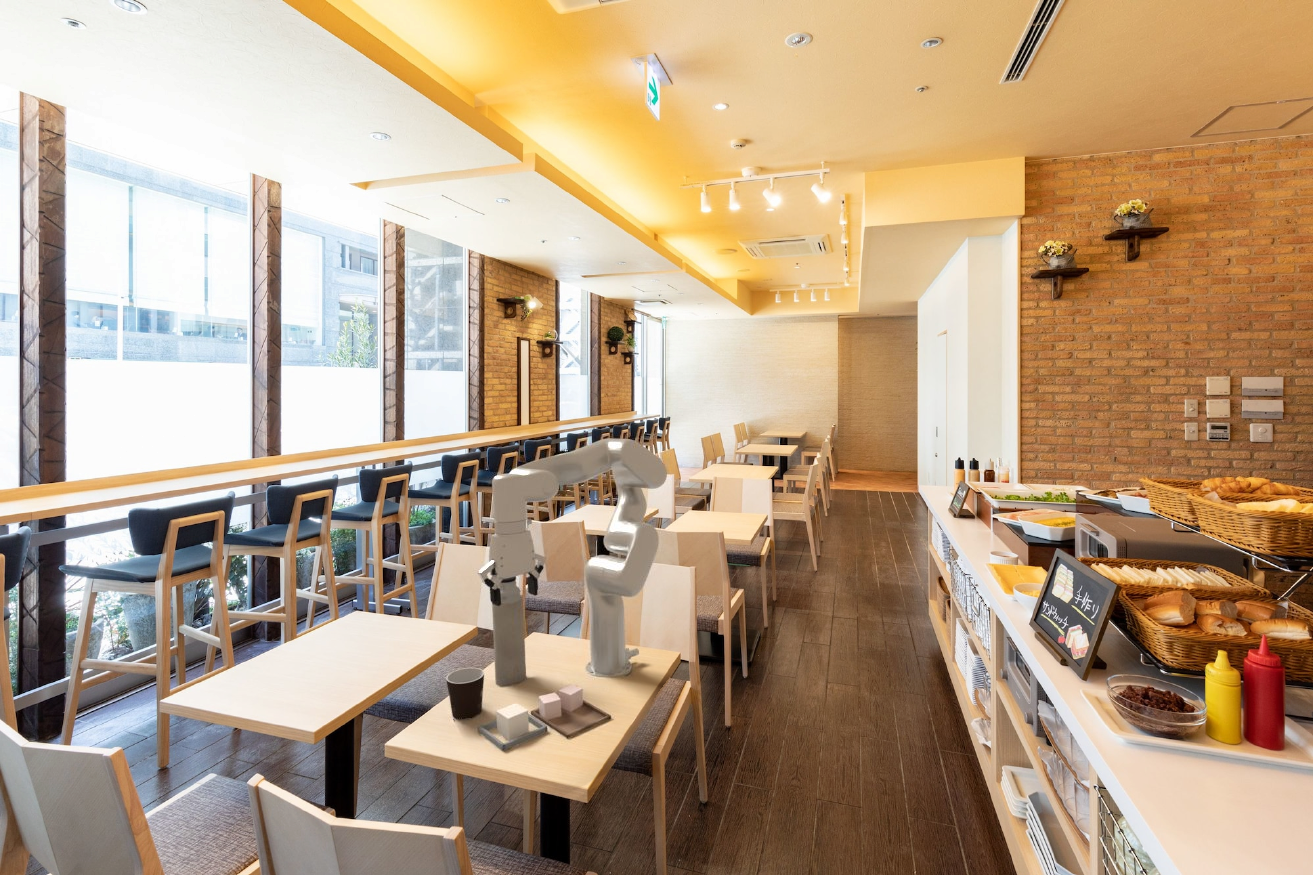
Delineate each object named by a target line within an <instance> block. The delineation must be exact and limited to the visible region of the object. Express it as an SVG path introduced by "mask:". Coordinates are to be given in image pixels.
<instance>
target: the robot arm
mask: <svg viewBox="0 0 1313 875" xmlns="http://www.w3.org/2000/svg"><path fill="white" fill-rule="evenodd" d="M610 471H612V477H613V481H614V483H615V485H616V490H617V503H616V506H615V509H614V511H613V513H612V516H611V519H610V520H609V524H608V525H607V527H606V531H605V533H604V537H603V545H604V548H606V550H607V551H609V552H611V553H614V554H618V555H622V556H626V558H622V557H618V556H612V555H607V554H606V555H605V554H599V555H595V556H592V557H591V558H590V559H589V560H588V561H587V562H586V564H585V567H584V570H583V577H584V584H585V588H586V592H587V597H588V614H589V615H588V617H589V618H588V619H589V642H590V643H589V644H590V646H589V648H590V650H589V651H590V662H588V663H587V664H586V665H585V672H586V673H587V674H589V675H590V676H594V677H598V678H612V677H618V676H627V675H628V674H629V673H630V672H631V671H632V667H633V666H632V663H631V662H630V660H631V658H633V657H636V656H638V655H639V654H640V650H639V648H637V647H635V648H632V649H630V648H629V647H626V628H625V626H626V625H625V622H626V621H625V620H626V619H625V604H624V600H623V598H624V597H625V598H633V597H636V596H637V595H638V594H640V592H642V590H643V588H644V586H645V584H646V583H647V582H646V581H647V579H648V576H649V574H650V571H651V568H652V566H653V564H654V561H655V558H656V556H657V552H658V549H659V543H660V542H659V540H660V539H659V537H660V536H659V533H658V530H657V529H656V528H655V527H654V525H652V524H650V523H648V522H643V521H644V519H645V515H646V512H647V506H648V504H647V499H646V496H645V493H644V491H643V489H650V490H652V489H658V488H660V487H662V486H663V485H664V484H665V483H666V480H667V477H668V476H667V475H668V472H667V471H668V469H667V467H666V464H665V462H664V461H663V459H661V458H660V457H658V456H657V455H656V454H654V453H653V452H652V451H650V450H649V449H648V448H646V447H645V446H644V445H643V444H641V443H639V442H638V441H636V440H633V439H629V438H610V437H609V438H608V437H607V438H604V439H603V438H602V439H600V440H597V441H594V442H593V443H590V444H587V445H585V446H582V447H580V448H577V449H574V450H571V451H569V452H564V453H560V454H556V455H552V456H547V457H543V458H540V459H536V460H532V461H530V462H527V463H525V464H522V465H519V466H517V467H515V468H513V469H512V470H511V471H510V472H509V473H501V474H498V475H495V476H494V477H493V478H492V481H491V486H492V487H491V488H492V503H493V505H492V506H493V522H494V533H493V534H491V537H490V543H489V552H488V553H489V554H488V563H487V564H486V565H485V566H483V567H482V568H481V569H480V570H478V572H477V574H478V576H479V578H480V580H481V582H482V583H483V584H485V585H486V586H487V587H488V588H489V597H490V602H491V605H492V604H494V605H496V606H500V605H501V593H500V589H499V588H498V586H499V585H500V583H501V581H502V580H503V579H506V578H511V577H515V576H516V577H519V576H521V575H526V574H527V575H528V576H527V593H528V594H530V595H533V596H535V597H536V596H538V591H539V583H538V582H539V581H538V580H539V578H540V575H541V573H542V571H543V570H544V566H545V564H546V561H547V557H546V556H544V555H540V554H538V553H536V552H535V546H534V541H533V537H532V536H533V535H532V533H531V530H529V526H530V525H532V523H533V520H532V519H531V518H528V503H536V502H537V503H539V502H541V503H542V502H547V501H550V500H552V499H553V498H555V496H556V495H557V494H558V492H559V489H560V486H561V485H562V486H563V485H565V486H567V485H574V484H575V485H577V484H582V483H585V482H587V481H589V480H592V479H595V478H596V477H598V476H601V475H602V474H605V473H607V472H610ZM536 560H537V563H536ZM488 574H489V575H490V576H491V577H490V578H489V576H488Z"/></svg>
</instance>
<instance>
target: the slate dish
mask: <svg viewBox="0 0 1313 875" xmlns="http://www.w3.org/2000/svg"><path fill="white" fill-rule="evenodd" d="M528 722H529V723H530V724H532V725H533V726H535V727H536V729H534V730H532V731H529V732H527V733H525V734H523V735H520V736H518V737H516V738H513V739H511V740H507V741H506V742H504V743H503V741H502V740H501V739H499V738H498V737H496V736H495V735H493V734H492V733H491V732H490V731H489V730H490V729H493V728H495V727H497V718H496V719H494V720H491V721H488V722H486V723H483V724H480V725H479V726H477V733H479V734H480V735H481V736H482V737H484V739H487V740H488V741H489V742H490V743H491V744H493V745H494V746H495V747H497V748H498V749H499V750H501V752H505V751H507V750H509V749H512V748H514V747H516V746H518V745H521V744H522V743H525V742H527V741H531V740H532V739H535V738H537V737H538V736H541V735H543V734H546V733H548V725H546V724H545V723H543V722H542V721H540V720H539V719H537V718H536V717H534V716H532V715H531V713H528Z"/></svg>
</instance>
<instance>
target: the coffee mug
mask: <svg viewBox="0 0 1313 875" xmlns="http://www.w3.org/2000/svg"><path fill="white" fill-rule="evenodd" d="M484 679H485V671H484V670H483V669H482V668H479V667H464V668H459V669H456V670H453V671H451V672H450V673H448V674H447V676H446V677H445V680H446V685H447V691H448V698H449V703H450V709H451V715H452V717H453V722H456V720H463V721H464V720H470V719H473V718H476V717H477V716H479V715H480V714H481V713H482V710H483V708H482V707H483V696H484V681H485V680H484ZM455 719H456V720H455Z"/></svg>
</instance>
